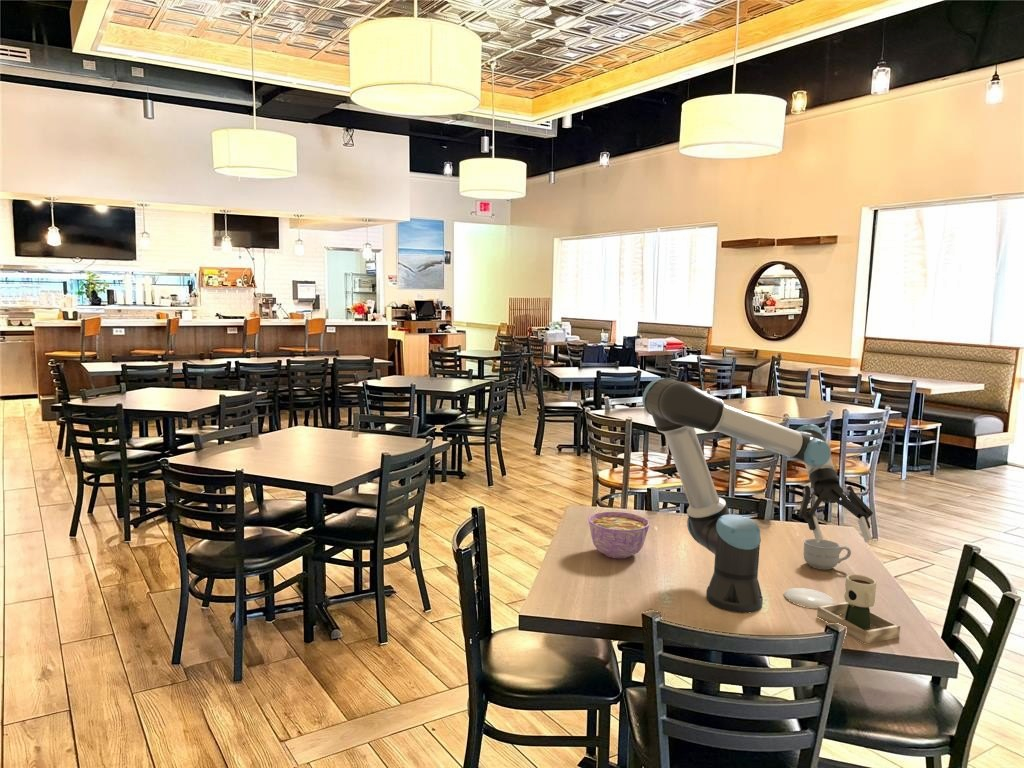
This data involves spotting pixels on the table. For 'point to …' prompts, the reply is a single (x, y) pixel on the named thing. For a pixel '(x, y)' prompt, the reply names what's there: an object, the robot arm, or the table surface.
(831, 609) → the wooden tray
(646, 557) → the table surface
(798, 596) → the white saucer
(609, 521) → the bowl of food
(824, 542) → the teacup
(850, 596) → the character mug
